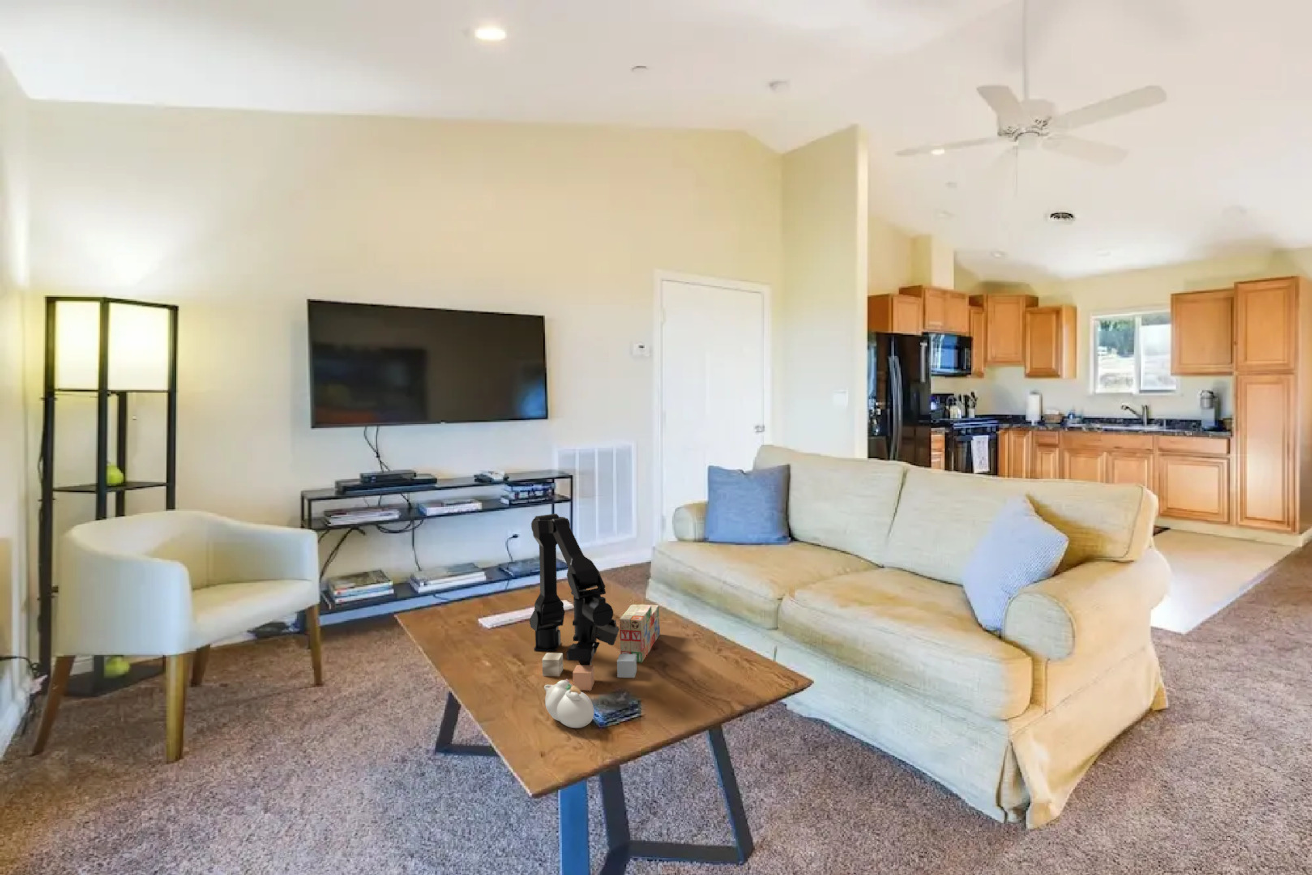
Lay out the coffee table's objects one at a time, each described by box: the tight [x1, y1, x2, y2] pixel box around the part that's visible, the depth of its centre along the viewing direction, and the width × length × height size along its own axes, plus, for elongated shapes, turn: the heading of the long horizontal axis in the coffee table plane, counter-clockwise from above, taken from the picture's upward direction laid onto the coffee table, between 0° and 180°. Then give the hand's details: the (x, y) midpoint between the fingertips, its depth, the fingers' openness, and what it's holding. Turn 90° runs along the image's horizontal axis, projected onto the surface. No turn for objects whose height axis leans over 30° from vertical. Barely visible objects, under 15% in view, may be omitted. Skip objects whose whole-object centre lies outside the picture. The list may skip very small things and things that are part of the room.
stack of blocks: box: [619, 604, 661, 663], centre depth 193 cm, size 21×6×12 cm, turn 166°
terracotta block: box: [572, 664, 595, 691], centre depth 169 cm, size 4×4×4 cm
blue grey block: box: [616, 653, 638, 679], centre depth 175 cm, size 4×4×4 cm
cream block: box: [541, 652, 564, 677], centre depth 177 cm, size 4×4×4 cm
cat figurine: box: [543, 678, 595, 729], centre depth 151 cm, size 10×8×15 cm
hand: (587, 673), depth 173 cm, fingers closed
